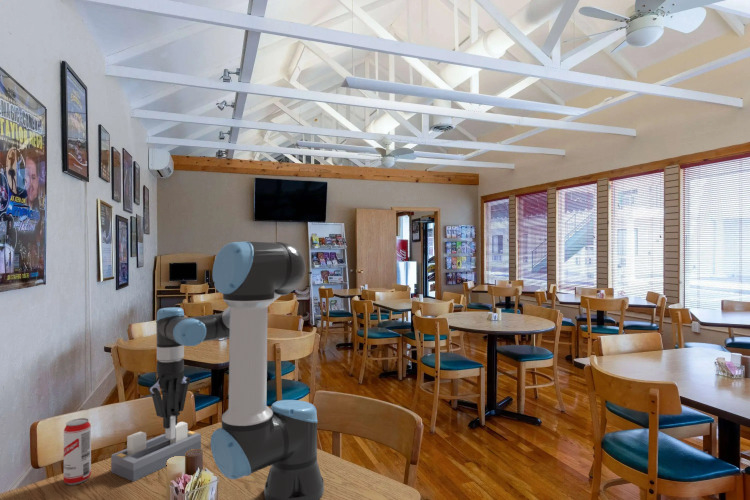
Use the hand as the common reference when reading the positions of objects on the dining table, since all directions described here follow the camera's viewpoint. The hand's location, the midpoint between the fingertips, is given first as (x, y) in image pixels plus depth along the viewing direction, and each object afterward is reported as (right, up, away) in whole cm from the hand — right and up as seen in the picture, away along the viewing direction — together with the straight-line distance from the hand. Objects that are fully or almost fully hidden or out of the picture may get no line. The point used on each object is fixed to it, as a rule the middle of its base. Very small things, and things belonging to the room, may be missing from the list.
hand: (170, 437), depth 134 cm
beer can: (-20, -7, -12) cm, 24 cm away
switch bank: (-3, -6, -1) cm, 7 cm away
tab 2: (+1, -3, +3) cm, 4 cm away
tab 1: (-7, -3, -5) cm, 9 cm away
